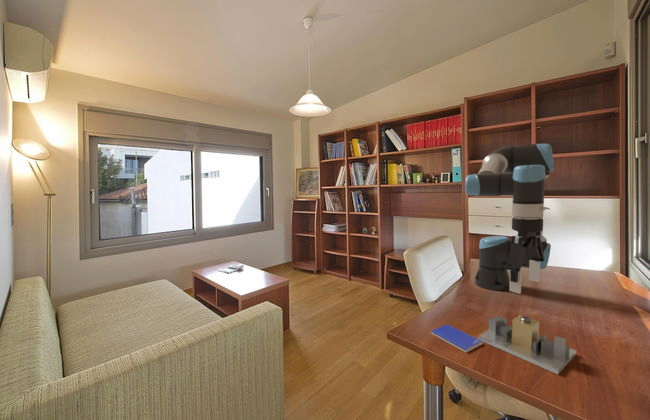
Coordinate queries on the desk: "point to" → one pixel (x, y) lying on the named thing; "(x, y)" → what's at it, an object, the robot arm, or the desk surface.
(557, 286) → the desk surface
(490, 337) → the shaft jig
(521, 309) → the desk surface
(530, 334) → the block
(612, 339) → the desk surface
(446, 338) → the hard drive
